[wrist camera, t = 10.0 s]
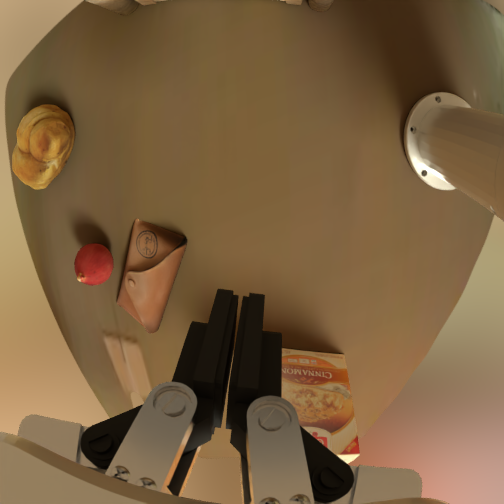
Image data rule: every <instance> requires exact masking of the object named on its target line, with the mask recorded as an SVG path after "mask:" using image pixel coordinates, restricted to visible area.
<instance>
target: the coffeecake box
mask: <svg viewBox="0 0 504 504" xmlns="http://www.w3.org/2000/svg"><path fill="white" fill-rule="evenodd" d="M282 398H284V399H285V400H287V401H288V402H290V403H291V404H292V405H293V406H294V408H295V410H296V412H297V415H298V420H299V425H300V426H302V427H303V428H304V429H305V430H306V431H307V432H309V433H310V434H311V435H312V436H313V437H315V438H316V439H317V440H318V441H319V442H321V443H322V444H323V445H324V446H325V447H327V448H328V449H329V450H330V451H332V452H333V453H334V454H335V455H337V456H338V457H339V458H341V459H342V460H343V461H344V462H346V463H347V464H348V463H349V462H351V461H353V460H354V459H355V458H357V457H358V456H359V455H360V452H359V444H358V436H357V428H356V421H355V415H354V408H353V402H352V396H351V390H350V384H349V378H348V373H347V367H346V362H345V357H344V354H332V353H321V352H311V351H302V350H293V349H285V348H282Z"/></svg>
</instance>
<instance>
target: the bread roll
mask: <svg viewBox="0 0 504 504" xmlns="http://www.w3.org/2000/svg"><path fill="white" fill-rule="evenodd" d="M74 140H75V131H74V126H73V123H72V120H71V118H70V116H69V115H68V114H67V113H66V112H64V111H63V110H61V109H60V108H59V107H57V106H56V105H49V104H46V105H40V106H38V107H36V108H34V109H32V110H31V111H29V112H28V114H27V115H26V116H24V117H23V119H22V120H21V123H20V124H19V127H18V129H17V144H16V147H15V149H14V151H13V155H12V165H13V166H12V168H13V171H14V173H15V174H16V175H17V176H18V177H19V178H20V180H21V181H23V182H24V183H25V184H26V185H29V186H31V187H32V188H33V189H43V188H46V187H47V186H48V185H49V184H50V183H51V182H52V180H53V179H54V178H55V177H57V175H58V174H59V173H60V172H61V171H62V169H63V167H64V166H65V164H66V162H67V160H68V158H69V156H70V154H71V151H72V148H73V145H74Z"/></svg>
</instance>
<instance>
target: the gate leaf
mask: <svg viewBox="0 0 504 504" xmlns="http://www.w3.org/2000/svg"><path fill="white" fill-rule="evenodd" d="M135 1H137V2H139V3H140V4H142V5H150V4H156V2H157V1H165V0H135ZM282 1H286V3H289V4H296V5H301V3H302V0H282Z"/></svg>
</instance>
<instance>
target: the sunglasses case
mask: <svg viewBox="0 0 504 504" xmlns="http://www.w3.org/2000/svg"><path fill="white" fill-rule="evenodd" d="M186 246H187V239H186V236H185V237H183V236H181V235H179V234H176V233H174V232H171V231H168V230H166V229H163V228H160V227H158V226H155V225H153V224H150V223H147V222H143V221H140V220H139V219H136V220H135V222H134V225H133V229H132V234H131V239H130V244H129V250H128V255H127V260H126V265H125V270H124V274H123V279H122V284H121V289H120V293H119V296H118V300H117V304H118V305H119V306H122V307H123V308H124V309H125V310H126V311H127V312H128V313H129V314H130V315H132V317H134V318H135V319H136V320H137V321H138V322H139V323H140V324H141V325H142V326H144V327H145V329H146V331H147V332H148V333H154V332H156V331H157V330H158V329H159V326H160V323H161V320H162V318H163V314H164V311H165V308H166V305H167V302H168V299H169V295H170V292H171V290H172V286H173V284H174V281H175V278H176V275H177V272H178V269H179V267H180V264H181V261H182V258H183V255H184V252H185V249H186Z"/></svg>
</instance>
